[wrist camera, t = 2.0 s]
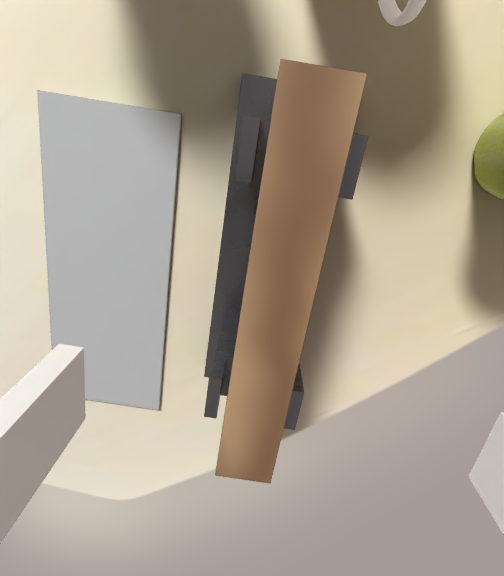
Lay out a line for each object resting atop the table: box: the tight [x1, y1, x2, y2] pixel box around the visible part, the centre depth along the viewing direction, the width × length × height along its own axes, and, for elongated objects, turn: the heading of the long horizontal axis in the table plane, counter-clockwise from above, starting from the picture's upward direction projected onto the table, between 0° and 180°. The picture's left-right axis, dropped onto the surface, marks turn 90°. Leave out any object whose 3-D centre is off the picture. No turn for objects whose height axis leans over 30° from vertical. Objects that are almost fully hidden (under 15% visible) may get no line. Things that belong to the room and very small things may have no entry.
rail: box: [215, 59, 367, 483], centre depth 20 cm, size 3×22×5 cm, turn 171°
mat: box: [37, 90, 182, 410], centre depth 30 cm, size 10×26×1 cm, turn 171°
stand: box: [204, 73, 368, 430], centre depth 25 cm, size 8×24×9 cm, turn 171°
